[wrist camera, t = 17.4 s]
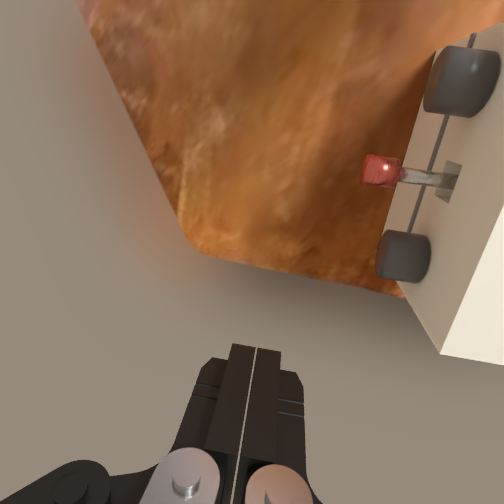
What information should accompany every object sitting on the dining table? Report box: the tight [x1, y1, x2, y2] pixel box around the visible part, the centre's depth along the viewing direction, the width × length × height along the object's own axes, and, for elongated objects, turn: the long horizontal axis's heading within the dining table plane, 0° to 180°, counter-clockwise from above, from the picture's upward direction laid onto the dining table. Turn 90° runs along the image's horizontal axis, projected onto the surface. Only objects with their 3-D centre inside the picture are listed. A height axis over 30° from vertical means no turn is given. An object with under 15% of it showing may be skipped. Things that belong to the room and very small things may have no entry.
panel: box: [381, 22, 504, 365], centre depth 29 cm, size 22×7×20 cm, turn 173°
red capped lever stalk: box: [360, 154, 459, 190], centre depth 28 cm, size 9×2×2 cm, turn 83°
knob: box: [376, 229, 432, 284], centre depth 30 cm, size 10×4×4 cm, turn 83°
